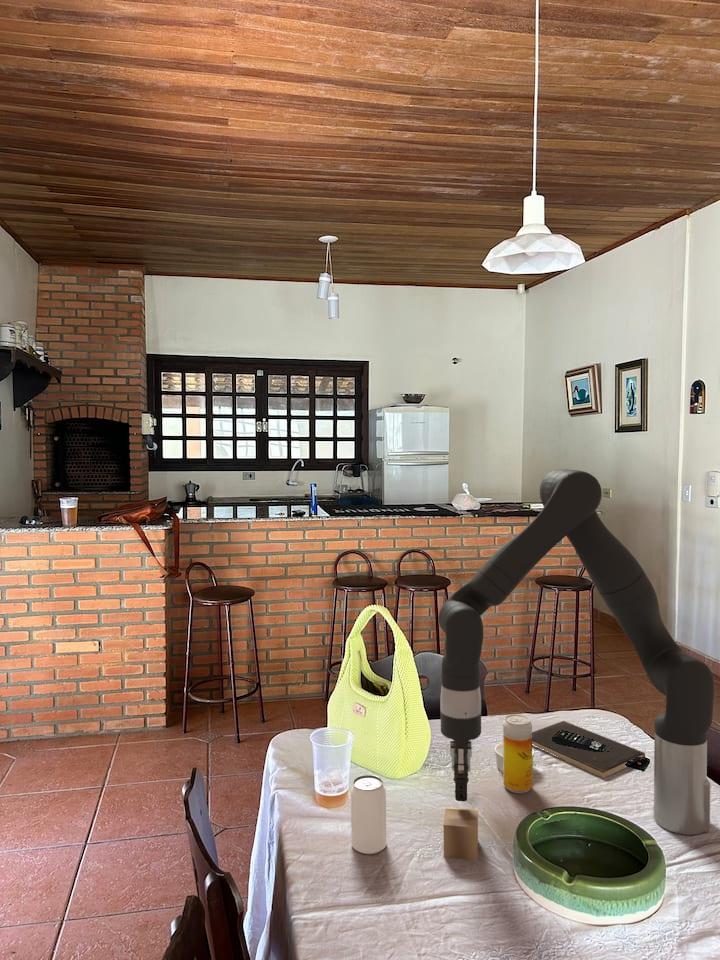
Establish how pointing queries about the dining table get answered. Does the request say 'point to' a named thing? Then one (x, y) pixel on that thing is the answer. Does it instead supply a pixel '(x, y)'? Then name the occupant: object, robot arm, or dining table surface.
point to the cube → (461, 833)
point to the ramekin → (500, 756)
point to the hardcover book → (585, 759)
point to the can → (368, 814)
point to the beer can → (517, 753)
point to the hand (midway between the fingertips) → (461, 799)
